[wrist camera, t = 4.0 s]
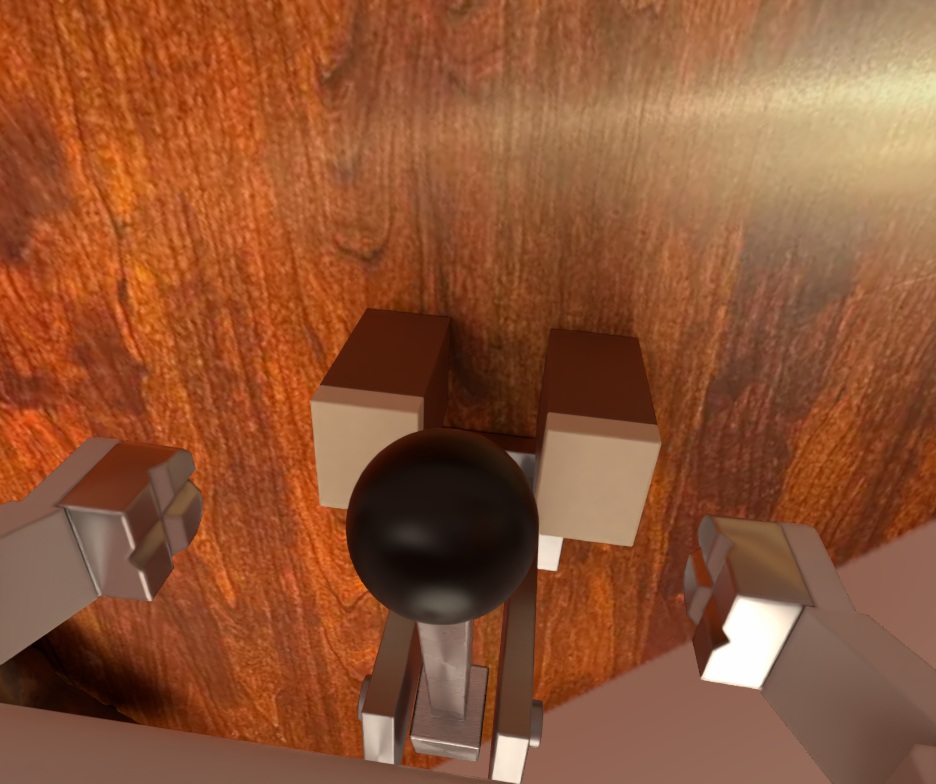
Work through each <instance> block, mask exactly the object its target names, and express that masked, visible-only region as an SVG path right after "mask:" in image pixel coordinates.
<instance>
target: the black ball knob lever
mask: <svg viewBox="0 0 936 784" xmlns="http://www.w3.org/2000/svg"><path fill="white" fill-rule="evenodd" d="M346 537H347V545H348V549H349V553H350V558H351V560H352V563H353V565H354V568H355V570H356V572H357V574H358V576H359V577H360V579H361V581H362V583H363V584H364V585H365V586H366V588H367V589H368V590H369V591H370V593H371V594H372V595H373V596H374V597H375V598H376V599H377V600H378V601H379V602H381V603H382V604H383V605H384V606H385V607H387V608H388V609H390V610H391V611H393V612H395V613H396V614H398V615H400V616H402V617H405V618H407V619H410V620H413V621H416V623H417V629H418V635H419V641H420V647H421V654H422V665H421V671H420V677H419V683H418V688H417V694H416V700H415V706H414V712H413V717H412V723H411V729H410V739H411V742H412V745H413V748H414V751H415V752H417V753H424V754H430V755H436V756H442V757H449V758H455V759H461V760H468V761H474V762H476V761H477V760H478V758H479V752H480V747H481V738H482V729H483V720H484V711H485V701H486V692H487V683H488V674H489V668H488V667H486V666H480V665H473V664H471V656H472V641H473V625H474V619H476V618H479V617H481V616H484V615H486V614H487V613H489V612H491V611H492V610H494V609H496V608H497V607H498V606H500V605H501V604H502V603H503V602H505V601H506V600H507V599H508V598H509V597H510V596H511V595H512V594H513V593H514V591H515V590H516V589H517V588H518V587H519V586H520V584H521V583H522V581H523V580H524V578H525V576H526V575H527V573H528V571H529V568H530V566H531V564H532V562H533V559H534V556H535V552H536V549H537V544H538V537H539V515H538V508H537V503H536V499H535V496H534V492H533V490H532V487H531V485H530V483H529V481H528V479H527V477H526V475H525V473H524V472H523V471H522V469H521V468H520V466H519V465H518V463H517V462H516V461H515V460H514V459H513V458H512V457H511V456H510V455H509V454H508V453H507V452H506V451H505V450H504V449H502V448H501V447H500V446H498V445H497V444H495V443H494V442H492V441H491V440H489V439H487V438H485V437H483V436H481V435H478V434H476V433H473V432H470V431H465V430H461V429H455V428H431V429H425V430H421V431H417V432H414V433H411V434H408V435H406V436H404V437H402V438H400V439H398V440H396V441H394V442H392V443H391V444H390V445H388V446H387V447H385V448H384V449H383V450H382V451H380V452H379V453H378V454H377V455H376V456H375V457H374V458H373V459H372V460H371V461H370V463H369V464H368V465H367V466H366V468H365V469H364V471H363V472H362V473H361V475H360V477H359V479H358V481H357V483H356V485H355V487H354V489H353V492H352V495H351V497H350V500H349V505H348V510H347V517H346Z"/></svg>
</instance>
